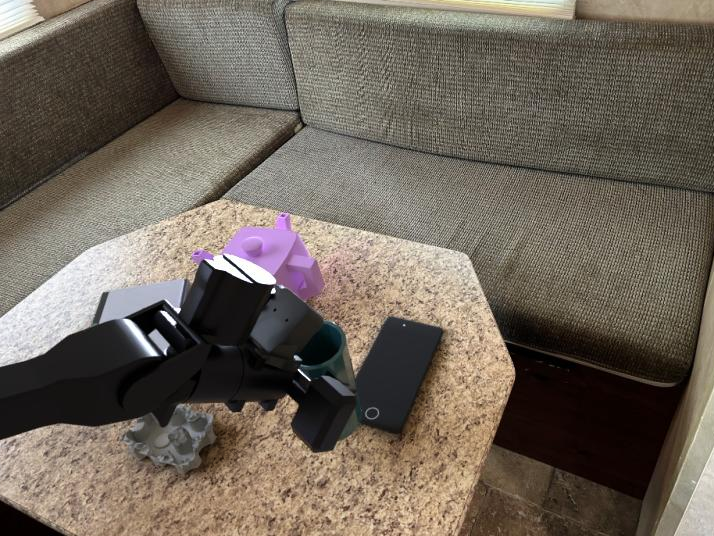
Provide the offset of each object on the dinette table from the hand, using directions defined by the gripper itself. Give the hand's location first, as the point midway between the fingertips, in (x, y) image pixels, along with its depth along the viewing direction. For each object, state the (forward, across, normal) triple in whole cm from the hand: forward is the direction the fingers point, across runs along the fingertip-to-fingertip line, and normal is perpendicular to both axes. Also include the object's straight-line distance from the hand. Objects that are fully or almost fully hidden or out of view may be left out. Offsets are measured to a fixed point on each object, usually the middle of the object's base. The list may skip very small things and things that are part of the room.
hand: (334, 374), depth 68 cm
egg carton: (-2, +16, +21) cm, 27 cm away
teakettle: (+15, +29, +4) cm, 33 cm away
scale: (+2, +38, +17) cm, 42 cm away
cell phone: (+17, +4, +2) cm, 18 cm away
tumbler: (+4, 0, +6) cm, 7 cm away
